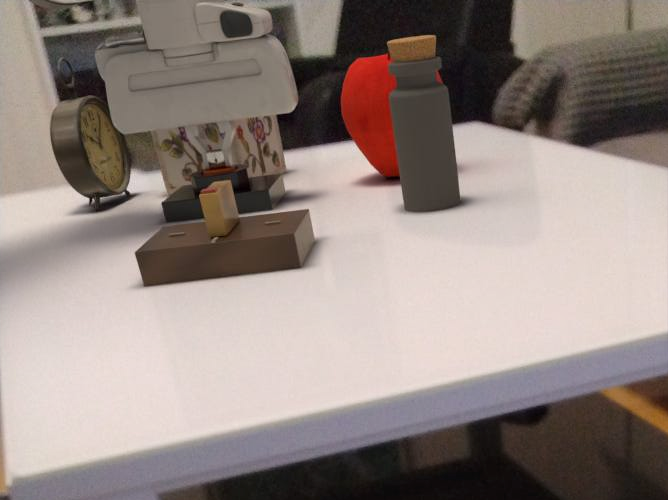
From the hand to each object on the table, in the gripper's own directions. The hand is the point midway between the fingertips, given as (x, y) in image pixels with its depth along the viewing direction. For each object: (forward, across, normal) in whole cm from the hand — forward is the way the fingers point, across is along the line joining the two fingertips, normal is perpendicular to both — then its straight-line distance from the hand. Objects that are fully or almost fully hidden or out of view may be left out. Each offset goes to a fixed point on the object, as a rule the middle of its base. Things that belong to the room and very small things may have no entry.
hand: (219, 167), depth 114 cm
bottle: (+4, +24, -13) cm, 28 cm away
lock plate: (+4, +6, -28) cm, 29 cm away
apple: (+4, +20, +6) cm, 21 cm away
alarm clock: (+4, -18, +12) cm, 22 cm away
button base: (+4, 0, 0) cm, 4 cm away
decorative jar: (+4, -3, +16) cm, 17 cm away
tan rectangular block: (+1, +6, -28) cm, 29 cm away
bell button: (+2, 0, 0) cm, 2 cm away
